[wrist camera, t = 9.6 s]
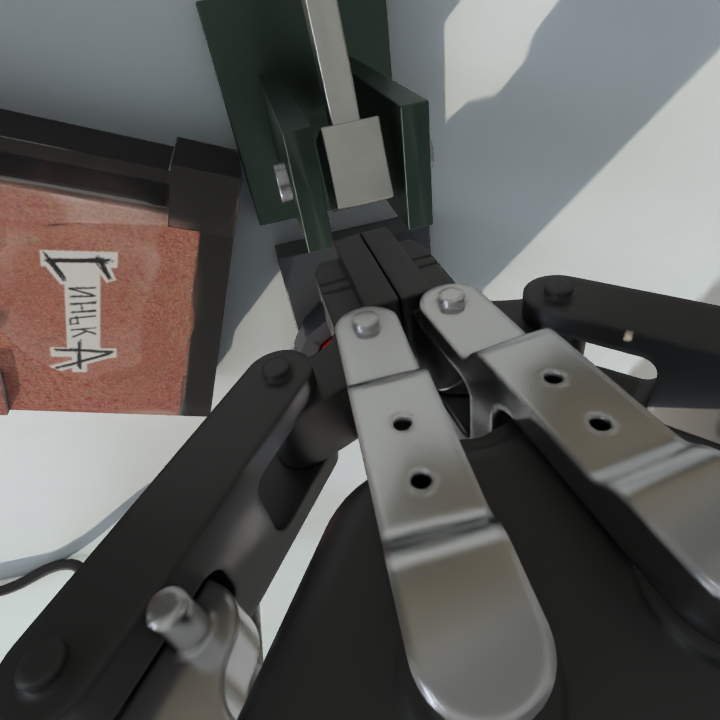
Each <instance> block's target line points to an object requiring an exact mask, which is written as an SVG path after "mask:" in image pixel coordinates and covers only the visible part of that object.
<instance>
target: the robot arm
mask: <svg viewBox="0 0 720 720" xmlns="http://www.w3.org/2000/svg"><path fill="white" fill-rule="evenodd" d="M332 244H333V250H334V255H335V259H334V260H330V261H326V262H322V263H319V265H318V267H317V270H316V272H315V278H316V282H317V286H318V290H319V294H320V297H321V301H322V305H323V309H324V313H325V317H326V321H327V324H328V326H329V329H330V332H331V335H332V339H331V341H330V342H329V344H328V345H327V346H326V347H325V348H323V349H322V350H321V351H319V352H318V353H316V354H314V355H313V356H311V357H309V358H308V356H306V355H305V354H304V353H301V352H299V351H295V350H282V351H276V352H273V353H270V354H267V355H265V356H263V357H261V358H260V359H258V360H257V361H255V362H254V363H253V364H252V365H251V366H250V367H249V368H248V369H247V371H246V372H245V373H244V374H243V375H242V376H241V378H240V379H239V380H238V381H237V382H236V384H235V385H234V386H233V387H232V388H231V389H230V391H229V392H228V393H227V394H226V395H225V397H224V398H223V399H222V400H221V401H220V402H219V404H218V405H217V406H216V407H215V408H214V409H213V411H212V412H211V413H210V414H209V415H208V417H207V418H206V419H205V420H204V421H203V422H202V424H201V425H200V426H199V427H198V428H197V430H196V431H195V432H194V433H193V434H192V435H191V437H190V438H189V439H188V440H187V441H186V442H185V444H184V445H183V446H182V447H181V448H180V450H179V451H178V452H177V453H176V454H175V455H174V457H173V458H172V459H171V460H170V461H169V463H168V464H167V465H166V466H165V467H164V468H163V470H162V471H161V472H160V473H159V474H158V475H157V477H156V478H155V479H154V480H153V481H152V483H151V484H150V485H149V486H148V487H147V488H146V490H145V491H144V492H143V493H142V494H141V496H140V497H139V498H138V499H137V500H136V501H135V503H134V504H133V505H132V506H131V507H130V509H129V510H128V511H127V512H126V513H125V514H124V516H123V517H122V518H121V519H120V520H119V521H118V523H117V524H116V525H115V526H114V527H113V529H112V530H111V531H110V532H109V533H108V534H107V536H106V537H105V538H104V539H103V540H102V542H101V543H100V544H99V545H98V546H97V547H96V549H95V550H94V551H93V552H92V553H91V554H90V556H89V557H88V558H87V559H86V560H85V562H84V563H82V562H81V561H78V560H75V559H67V560H60V561H55V562H52V563H49V564H47V565H44V566H42V567H40V568H38V569H36V570H34V571H33V572H31V573H29V574H27V575H25V576H24V577H22V578H20V579H18V580H15V581H13V582H11V583H8V584H6V585H2V586H0V596H3V595H7V594H10V593H12V592H15V591H17V590H19V589H22V588H24V587H25V586H27V585H29V584H31V583H33V582H35V581H37V580H38V579H40V578H42V577H44V576H46V575H48V574H50V573H53V572H56V571H60V570H72V571H74V572H75V573H74V575H73V576H72V577H71V578H70V579H69V580H68V582H67V583H66V584H65V585H64V586H63V587H62V589H61V590H60V591H59V592H58V593H57V595H56V596H55V597H54V598H53V599H52V600H51V602H50V603H49V604H48V605H47V606H46V608H45V609H44V610H43V611H42V612H41V613H40V615H39V616H38V617H37V618H36V619H35V620H34V622H33V623H32V624H31V625H30V626H29V628H28V629H27V630H26V631H25V632H24V633H23V635H22V636H21V637H20V638H19V639H18V641H17V642H16V643H15V644H14V645H13V647H12V648H11V649H10V650H9V652H8V653H7V654H6V656H5V657H4V659H3V660H2V662H1V664H0V720H720V306H717V305H712V304H707V303H702V302H697V301H692V300H687V299H682V298H677V297H672V296H667V295H662V294H657V293H652V292H646V291H641V290H636V289H631V288H626V287H621V286H616V285H611V284H606V283H601V282H596V281H591V280H586V279H581V278H576V277H570V276H564V275H551V276H544V277H540V278H537V279H535V280H533V281H531V282H529V283H528V284H527V285H526V286H525V288H524V291H523V299H519V300H506V301H490V300H489V299H488V298H487V297H486V296H485V295H484V294H482V293H481V292H480V291H479V290H478V289H476V288H474V287H472V286H469V285H464V284H456V283H455V282H454V281H453V280H452V279H451V277H450V276H449V275H448V274H447V273H446V272H445V270H444V269H443V268H442V267H441V266H440V264H439V263H437V261H436V260H435V258H434V257H433V256H431V254H430V252H429V251H428V250H427V249H426V248H425V247H424V245H422V244H420V243H417V242H415V241H413V240H410V239H408V240H404V241H400V242H398V241H397V240H396V238H395V237H394V236H393V234H392V233H391V232H390V230H389V229H388V228H387V227H383V228H379V229H375V230H371V231H368V232H364V233H360V235H359V234H357V235H353V236H349V237H345V238H342V239H338V240H334V241H332ZM586 342H588V343H592V344H595V345H599V346H603V347H607V348H610V349H614V350H618V351H621V352H625V353H629V354H633V355H636V356H640V357H643V358H645V359H647V360H649V361H650V362H651V363H653V365H654V366H655V367H656V369H657V373H658V374H657V378H655V379H650V380H646V379H640V378H637V377H633V376H630V375H626V374H623V373H619V372H616V371H613V370H609V369H606V368H602V367H599V366H595V365H594V364H593V363H592V362H590V361H589V360H588V359H587V358H586V357H584V356H583V354H584V349H585V344H586ZM356 439H359V443H360V448H361V452H362V457H363V461H364V466H365V470H366V475H367V479H368V480H366V481H365V482H364V483H362V484H361V485H360V486H358V487H357V488H356V489H355V490H354V491H353V492H352V493H351V494H350V495H349V496H348V497H347V498H346V499H345V500H344V501H343V502H342V504H341V505H340V506H339V507H338V509H337V510H336V512H335V513H334V515H333V516H332V518H331V519H330V521H329V523H328V525H327V527H326V529H325V531H324V533H323V536H322V538H321V540H320V542H319V544H318V546H317V548H316V551H315V553H314V555H313V557H312V559H311V561H310V563H309V566H308V568H307V570H306V572H305V574H304V576H303V578H302V581H301V583H300V585H299V587H298V589H297V591H296V593H295V596H294V598H293V600H292V602H291V604H290V606H289V609H288V611H287V613H286V615H285V617H284V619H283V621H282V624H281V626H280V628H279V630H278V632H277V634H276V636H275V639H274V641H273V643H272V645H271V647H270V649H269V651H268V654H267V656H266V658H265V660H264V662H263V649H262V633H261V618H260V601H261V600H262V598H263V596H264V594H265V592H266V591H267V589H268V587H269V585H270V583H271V581H272V580H273V578H274V576H275V574H276V572H277V571H278V569H279V567H280V565H281V563H282V561H283V560H284V558H285V556H286V554H287V552H288V550H289V549H290V547H291V545H292V543H293V541H294V540H295V538H296V536H297V534H298V532H299V530H300V529H301V527H302V525H303V523H304V521H305V520H306V518H307V516H308V514H309V512H310V510H311V509H312V507H313V505H314V503H315V501H316V500H317V498H318V496H319V494H320V492H321V490H322V489H323V487H324V485H325V483H326V481H327V479H328V478H329V476H330V474H331V472H332V470H333V469H334V467H335V465H336V463H337V460H338V451H339V450H340V449H342V448H344V447H345V446H347V445H348V444H350V443H351V442H353V441H355V440H356Z"/></svg>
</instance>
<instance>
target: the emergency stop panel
mask: <svg viewBox="0 0 720 720" xmlns="http://www.w3.org/2000/svg"><path fill="white" fill-rule="evenodd" d="M383 227H387V228H388V229H389V230H390V232H391V233H392V234H393V236H394V237H395V238H396V240H397V241H398V242H400V241H404V240H408V239H410V240H413V241H415V242H417V243H420V244H422V245H424V247H425V248H426V249H427V250H428V251H429V252H430V235H429V225H428V226H423V227H419V228H415V229H411V230H410V229H408V228H407V226H406V225H405V224H404V222H403V221H402V220H401V218H400V217H397V218H393V219H389V220H384V221H380V222H376V223H371V224H367V225H363V226H358V227H354V228H350V229H346V230H341V231H337V232H333V233H331V234H332V239H333V241H334V240H338V239H342V238H345V237H349V236H353V235H357V234H359V235H360V233H364V232H368V231H371V230H375V229H379V228H383ZM275 249H276V253H277V258H278V262H279V266H280V269H281V273H282V276H283V280H284V284H285V287H286V291H287V294H288V298H289V302H290V305H291V309H292V312H293V316H294V320H295V323H296V327H297V330H298V334H297V337H296V340H295V348H296V351H299V352H301V353H304V354H305V355H306V356H308V358H309V357H311V356H313V355H314V354H316V353H318V352H319V351H321V349H322V347H323V345H324V344H325V343H326V341H327V340H328V339H330V338H331V337H332V335H331V332H330V329H329V326H328V324H327V321H326V317H325V313H324V309H323V305H322V301H321V297H320V294H319V290H318V286H317V282H316V278H315V272H316V270H317V267H318V265H319V263H322V262H326V261H330V260H334V259H335V255H334V250H333V248H330V249H326V250H321V251H317V252H313V253H309V252H308V249H307V246H306V243H305V240H304V239H302V240H298V241H294V242H289V243H285V244H281V245H276V246H275Z"/></svg>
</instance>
